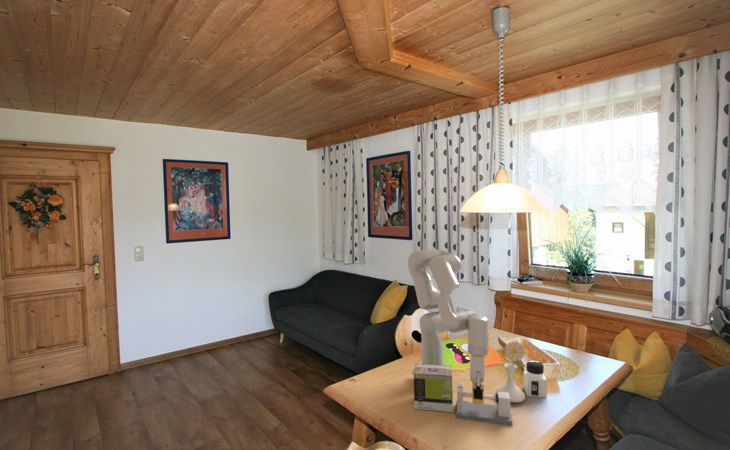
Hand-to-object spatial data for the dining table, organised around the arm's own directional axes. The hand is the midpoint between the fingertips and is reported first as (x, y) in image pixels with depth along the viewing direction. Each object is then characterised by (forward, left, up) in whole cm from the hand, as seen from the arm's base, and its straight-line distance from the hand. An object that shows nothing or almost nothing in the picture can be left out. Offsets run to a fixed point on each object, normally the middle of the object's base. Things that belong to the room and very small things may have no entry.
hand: (477, 395), depth 144 cm
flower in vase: (+14, +15, -8) cm, 21 cm away
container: (+24, +23, -8) cm, 34 cm away
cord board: (+2, 0, -7) cm, 8 cm away
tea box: (-17, +3, -8) cm, 19 cm away
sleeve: (0, 0, -2) cm, 2 cm away
